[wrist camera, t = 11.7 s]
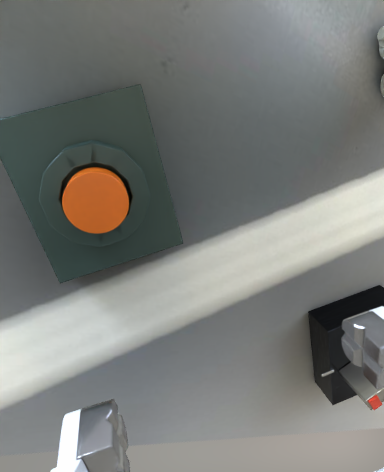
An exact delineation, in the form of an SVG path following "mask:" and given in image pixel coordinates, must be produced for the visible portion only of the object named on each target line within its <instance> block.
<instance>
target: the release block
mask: <svg viewBox="0 0 384 472" xmlns="http://www.w3.org/2000/svg"><path fill="white" fill-rule="evenodd" d="M0 158H1V160H2V163H3V165H4V167H5V169H6V171H7V173H8V175H9V177H10V179H11V181H12V184H13V186H14V188H15V190H16V192H17V194H18V196H19V198H20V200H21V202H22V204H23V207H24V209H25V211H26V213H27V215H28V217H29V219H30V221H31V223H32V225H33V228H34V230H35V232H36V234H37V236H38V238H39V240H40V242H41V244H42V246H43V248H44V251H45V253H46V255H47V257H48V259H49V261H50V263H51V265H52V267H53V269H54V272H55V274H56V276H57V278H58V280H59V282H60V283H63V282H66V281H69V280H72V279H75V278H78V277H81V276H84V275H87V274H90V273H94V272H97V271H100V270H103V269H106V268H109V267H112V266H115V265H118V264H121V263H124V262H128V261H131V260H134V259H137V258H140V257H143V256H146V255H149V254H152V253H155V252H158V251H161V250H165V249H168V248H171V247H174V246H177V245H180V244H183V240H182V236H181V233H180V229H179V225H178V221H177V218H176V214H175V210H174V207H173V203H172V199H171V195H170V192H169V188H168V184H167V181H166V177H165V173H164V169H163V166H162V162H161V158H160V155H159V151H158V147H157V143H156V140H155V136H154V132H153V128H152V125H151V121H150V117H149V114H148V110H147V106H146V102H145V99H144V95H143V91H142V88H141V85H140V84H139V85H135V86H131V87H127V88H123V89H119V90H115V91H111V92H107V93H103V94H99V95H95V96H91V97H87V98H83V99H79V100H75V101H71V102H67V103H63V104H59V105H55V106H51V107H47V108H43V109H39V110H35V111H31V112H27V113H23V114H19V115H15V116H11V117H7V118H3V119H0ZM89 167H100V168H105V169H108V170H110V171H112V172H113V173H115V174H116V175H117V176H118V177H119V178H120V179H121V180H122V182H123V183H124V185H125V188H126V191H127V195H128V198H129V209H128V213H127V215H126V217H125V219H124V220H123V222H122V223H121V224H120V225H119V226H118V227H116V228H115V229H113V230H111V231H109V232H105V233H99V234H94V233H88V232H85V231H82V230H80V229H78V228H77V227H75V226H74V225H73V224H72V223H71V222H70V221H69V220H68V218H67V217H66V215H65V213H64V210H63V205H62V199H63V194H64V191H65V188H66V186H67V184H68V182H69V180H70V179H71V178H72V176H73V175H74V174H76V173H77V172H79V171H80V170H82V169H85V168H89Z"/></svg>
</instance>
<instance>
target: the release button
mask: <svg viewBox="0 0 384 472" xmlns="http://www.w3.org/2000/svg"><path fill="white" fill-rule="evenodd" d="M62 205H63V210H64V213H65V215H66V217H67V218H68V220H69V221H70V222H71V223H72V224H73V225H74V226H75V227H77V228H78V229H80V230H82V231H85V232H88V233H94V234H99V233H105V232H109V231H111V230H113V229H115V228H116V227H118V226H119V225H120V224H121V223H122V222H123V220H124V219H125V217H126V215H127V213H128V209H129V198H128V195H127V191H126V188H125V185H124V183H123V182H122V180H121V179H120V178H119V177H118V176H117V175H116V174H115V173H113V172H112V171H110V170H108V169H105V168H100V167H89V168H85V169H82V170H80V171H79V172H77V173H76V174H74V175H73V176H72V178H71V179H70V180H69V182H68V184H67V186H66V188H65V191H64V194H63V199H62Z"/></svg>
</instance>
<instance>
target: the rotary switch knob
mask: <svg viewBox="0 0 384 472" xmlns="http://www.w3.org/2000/svg"><path fill="white" fill-rule="evenodd" d="M339 372H340V374H341V375H342V377H343V378H344V380H345V381H346V382H347V383H348V384H349V386H350V387H351V388H352V389H353V390H354V391H355V392H356V394H357V395H358V396H359V397H360V398H361V399H362V400H363V402H364V403H365V404H366V405H367V406H368V407H369V408H370V410H372V409H373V410H375V409H377V408H378V407H380V406H381V405H382V402H383V401H384V387H383V388H381V389H378V390H377V389H376V388H375V387H374V386H373V385H372V384H371V383H370V382H369V380H368V379H367V378H366V377H365V376H364V375H363V372H362V368H361V367H359V366H356V365H354V364H353V363H352V362H350V363H349V364H348V365H346V366H345V367H343V368H342V369H341V370H339Z"/></svg>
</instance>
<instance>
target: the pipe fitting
mask: <svg viewBox="0 0 384 472" xmlns="http://www.w3.org/2000/svg"><path fill="white" fill-rule="evenodd" d="M377 38H378V40H379V52H380V55H381V57H382V58H383V59H384V27H381V28H380V30H379V32H378V34H377ZM381 93H382V96H383V97H384V75H383V76H382V78H381Z"/></svg>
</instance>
